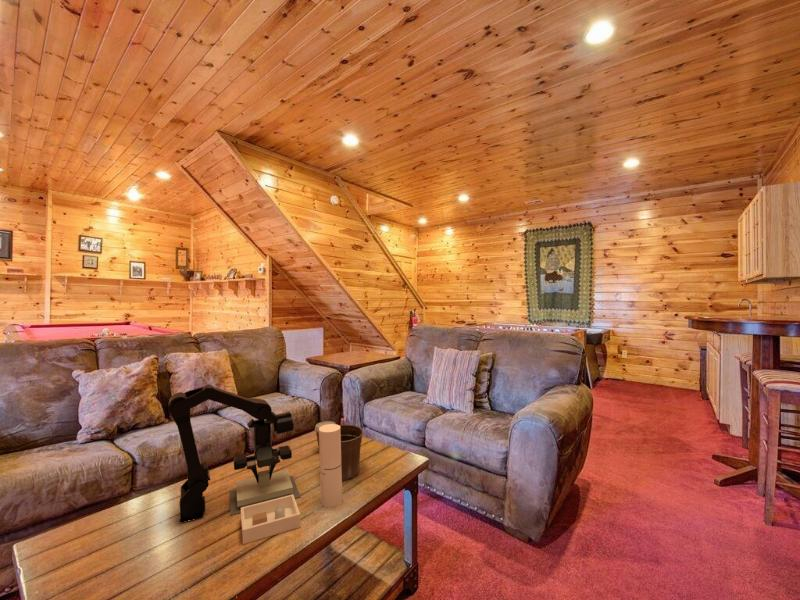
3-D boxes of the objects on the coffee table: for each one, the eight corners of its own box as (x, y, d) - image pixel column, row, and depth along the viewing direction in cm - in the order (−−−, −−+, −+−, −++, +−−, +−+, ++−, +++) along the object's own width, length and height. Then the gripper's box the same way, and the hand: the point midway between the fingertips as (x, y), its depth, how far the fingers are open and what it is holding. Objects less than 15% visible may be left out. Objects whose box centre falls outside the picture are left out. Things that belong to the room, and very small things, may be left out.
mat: (230, 515, 117) (230, 514, 117) (229, 491, 131) (229, 490, 131) (300, 497, 126) (300, 496, 126) (292, 476, 140) (292, 475, 140)
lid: (237, 507, 118) (236, 488, 118) (236, 486, 131) (235, 470, 131) (293, 493, 126) (292, 475, 126) (286, 475, 138) (286, 459, 138)
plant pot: (361, 484, 134) (360, 441, 133) (317, 484, 134) (316, 441, 133) (366, 463, 150) (365, 424, 149) (327, 463, 150) (326, 424, 150)
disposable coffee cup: (339, 447, 166) (339, 420, 165) (334, 456, 156) (333, 429, 156) (319, 446, 167) (318, 420, 166) (312, 456, 157) (311, 428, 157)
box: (242, 544, 103) (242, 530, 103) (241, 520, 114) (240, 507, 114) (300, 527, 110) (300, 514, 110) (293, 506, 121) (293, 494, 121)
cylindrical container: (337, 508, 119) (335, 432, 119) (317, 506, 121) (315, 431, 120) (345, 496, 126) (343, 424, 126) (325, 494, 128) (324, 423, 127)
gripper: (233, 451, 116) (235, 499, 117) (293, 440, 125) (295, 485, 125) (232, 439, 127) (234, 483, 127) (288, 429, 135) (289, 470, 135)
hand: (263, 480), depth 128 cm, fingers closed on lid, 3 cm apart
